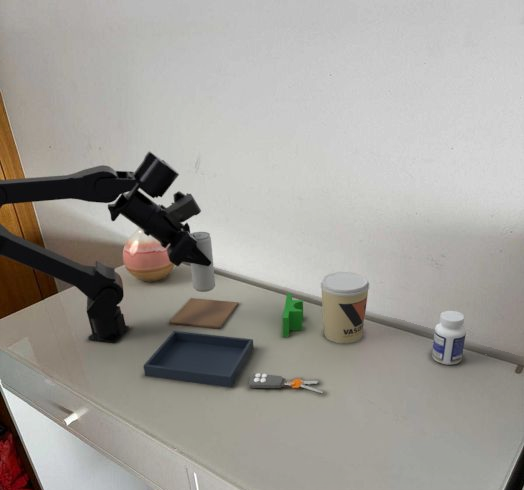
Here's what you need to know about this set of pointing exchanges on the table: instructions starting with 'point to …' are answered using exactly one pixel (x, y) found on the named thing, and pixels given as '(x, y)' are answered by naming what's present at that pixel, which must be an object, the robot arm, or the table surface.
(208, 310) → the cork mat
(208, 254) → the beverage can
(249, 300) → the table surface
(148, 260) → the vase
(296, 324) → the pipe clamp
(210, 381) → the tray
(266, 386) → the key chain
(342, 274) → the beige lidded tub
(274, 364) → the table surface
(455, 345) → the pill bottle
